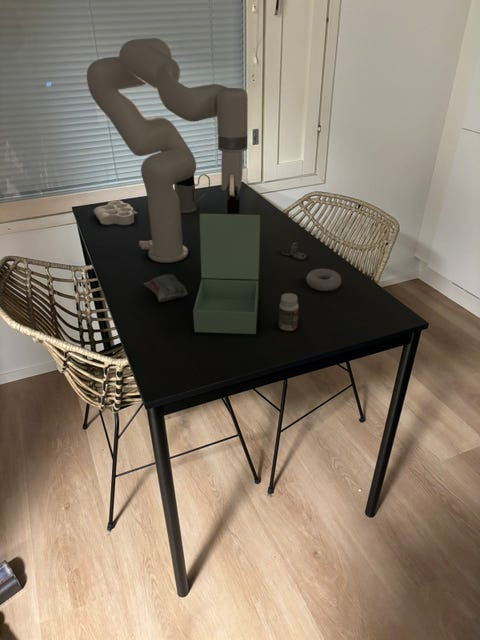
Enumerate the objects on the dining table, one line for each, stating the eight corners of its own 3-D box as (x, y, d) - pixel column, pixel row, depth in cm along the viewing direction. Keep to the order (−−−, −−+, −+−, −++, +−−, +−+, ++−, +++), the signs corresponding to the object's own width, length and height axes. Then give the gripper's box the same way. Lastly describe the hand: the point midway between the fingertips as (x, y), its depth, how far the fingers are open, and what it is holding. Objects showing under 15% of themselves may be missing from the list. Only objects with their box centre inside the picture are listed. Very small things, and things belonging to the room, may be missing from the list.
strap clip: (307, 257, 157) (308, 245, 155) (302, 260, 155) (303, 248, 153) (285, 250, 162) (286, 238, 159) (279, 253, 160) (280, 241, 157)
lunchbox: (255, 334, 121) (256, 313, 118) (194, 332, 122) (193, 311, 119) (258, 300, 135) (258, 280, 131) (202, 298, 135) (201, 278, 132)
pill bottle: (296, 332, 122) (298, 303, 117) (277, 330, 123) (278, 301, 118) (298, 321, 126) (300, 293, 121) (279, 319, 126) (281, 291, 122)
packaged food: (159, 309, 131) (157, 292, 128) (143, 289, 139) (142, 274, 137) (189, 301, 134) (188, 285, 132) (172, 282, 143) (171, 267, 140)
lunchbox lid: (260, 215, 123) (260, 211, 127) (199, 214, 124) (201, 209, 128) (258, 279, 131) (259, 273, 135) (201, 278, 132) (203, 271, 136)
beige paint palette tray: (92, 212, 189) (129, 206, 195) (103, 229, 176) (143, 222, 182) (90, 204, 188) (128, 198, 193) (102, 220, 174) (142, 213, 180)
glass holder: (177, 204, 197) (175, 166, 189) (212, 206, 196) (211, 167, 188) (172, 212, 190) (169, 173, 182) (208, 214, 188) (207, 174, 180)
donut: (299, 281, 144) (319, 296, 136) (299, 271, 142) (320, 285, 134) (327, 274, 148) (348, 288, 140) (328, 263, 146) (349, 277, 138)
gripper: (220, 135, 131) (222, 203, 141) (214, 150, 118) (217, 222, 128) (248, 135, 130) (248, 203, 140) (246, 150, 118) (246, 223, 128)
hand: (233, 212), depth 134 cm, fingers closed
